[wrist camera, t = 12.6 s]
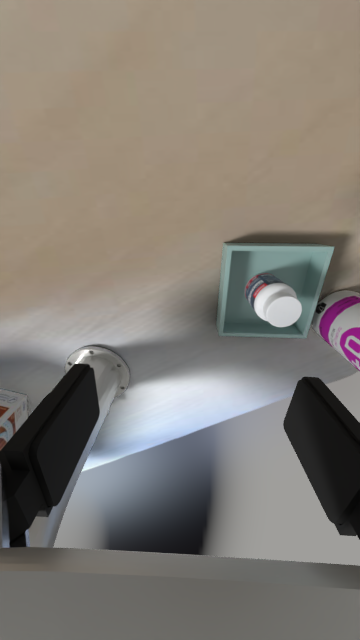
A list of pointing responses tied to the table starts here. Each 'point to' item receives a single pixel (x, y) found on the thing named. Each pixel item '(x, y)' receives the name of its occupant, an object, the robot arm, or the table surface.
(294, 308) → the pill bottle
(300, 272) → the bin
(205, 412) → the table surface
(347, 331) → the supplement can
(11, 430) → the box
